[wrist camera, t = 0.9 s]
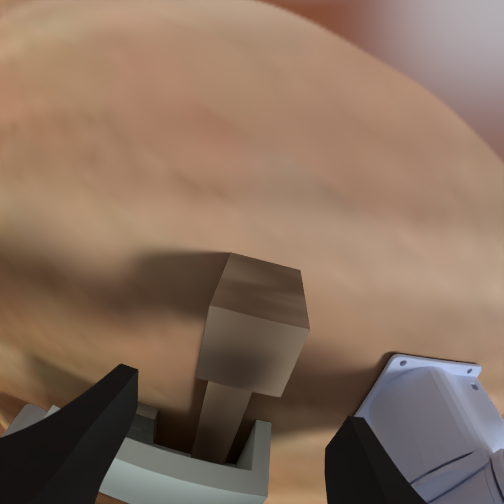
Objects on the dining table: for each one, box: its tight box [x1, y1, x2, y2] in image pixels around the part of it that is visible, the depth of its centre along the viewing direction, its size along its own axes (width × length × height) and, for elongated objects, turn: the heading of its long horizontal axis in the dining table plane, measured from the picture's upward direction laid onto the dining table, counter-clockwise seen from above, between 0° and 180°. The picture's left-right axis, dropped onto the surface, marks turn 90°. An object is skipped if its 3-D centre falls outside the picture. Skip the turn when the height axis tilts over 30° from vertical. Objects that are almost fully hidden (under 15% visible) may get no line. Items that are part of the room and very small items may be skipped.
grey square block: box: [127, 403, 158, 444], centre depth 23 cm, size 4×4×2 cm
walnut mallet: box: [191, 253, 310, 465], centre depth 18 cm, size 4×20×6 cm, turn 166°
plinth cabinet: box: [43, 405, 271, 504], centre depth 20 cm, size 16×9×7 cm, turn 76°
